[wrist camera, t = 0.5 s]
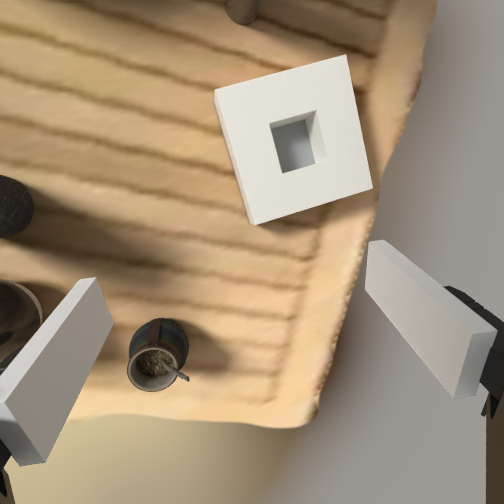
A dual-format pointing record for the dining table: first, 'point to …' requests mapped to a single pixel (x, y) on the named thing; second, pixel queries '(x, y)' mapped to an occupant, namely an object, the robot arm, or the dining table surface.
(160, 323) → the mate gourd
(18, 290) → the pump dispenser
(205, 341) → the dining table surface
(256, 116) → the hole block
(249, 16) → the pin
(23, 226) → the travel mug
